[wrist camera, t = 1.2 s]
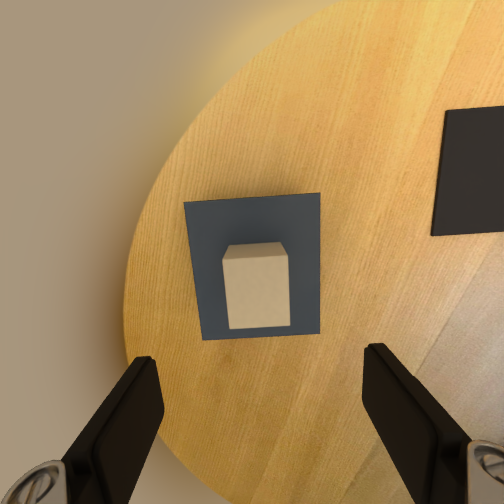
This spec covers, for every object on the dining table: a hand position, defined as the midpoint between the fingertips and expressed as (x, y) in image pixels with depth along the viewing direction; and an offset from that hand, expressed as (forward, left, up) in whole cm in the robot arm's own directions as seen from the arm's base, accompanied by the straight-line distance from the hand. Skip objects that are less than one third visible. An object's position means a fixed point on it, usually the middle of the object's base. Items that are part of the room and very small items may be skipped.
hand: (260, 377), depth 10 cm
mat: (-8, +27, -20) cm, 35 cm away
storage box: (0, 0, -20) cm, 20 cm away
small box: (0, 0, -13) cm, 13 cm away
